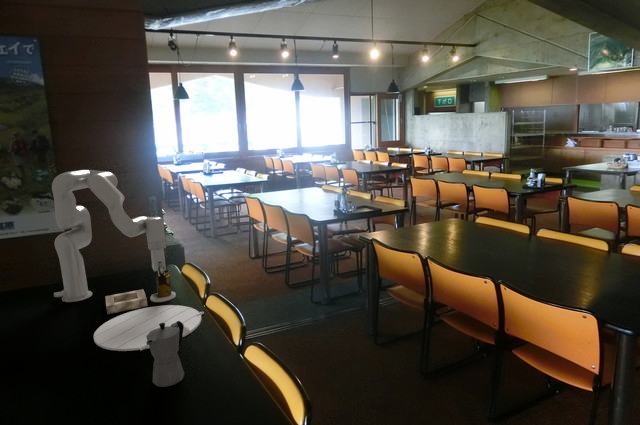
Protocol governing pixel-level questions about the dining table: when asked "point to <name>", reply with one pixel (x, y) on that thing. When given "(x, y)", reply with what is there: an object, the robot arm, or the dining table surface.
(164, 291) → the condiment
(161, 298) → the coaster
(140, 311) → the lazy susan
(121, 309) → the holder
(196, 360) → the dining table surface
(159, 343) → the coffeepot
